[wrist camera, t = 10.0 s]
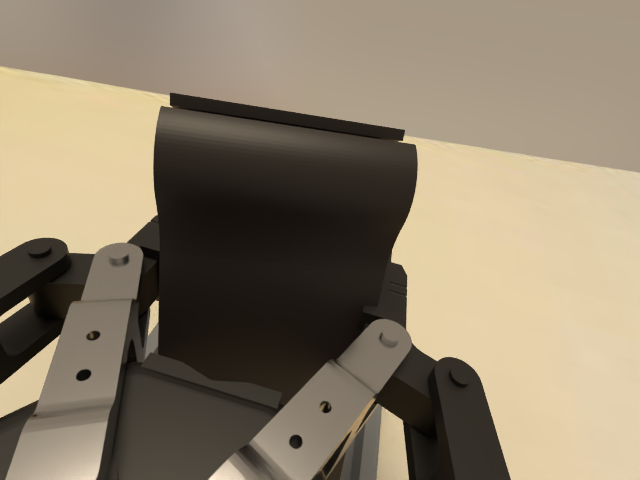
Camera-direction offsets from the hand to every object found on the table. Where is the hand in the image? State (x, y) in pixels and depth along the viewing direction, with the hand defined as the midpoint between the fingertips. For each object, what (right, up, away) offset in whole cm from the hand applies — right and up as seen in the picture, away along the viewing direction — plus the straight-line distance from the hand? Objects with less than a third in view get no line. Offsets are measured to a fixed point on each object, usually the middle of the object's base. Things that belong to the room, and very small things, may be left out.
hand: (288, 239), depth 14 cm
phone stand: (-2, -7, +2) cm, 7 cm away
